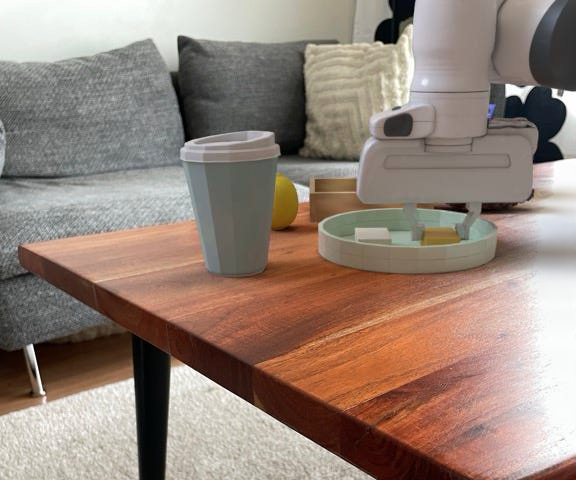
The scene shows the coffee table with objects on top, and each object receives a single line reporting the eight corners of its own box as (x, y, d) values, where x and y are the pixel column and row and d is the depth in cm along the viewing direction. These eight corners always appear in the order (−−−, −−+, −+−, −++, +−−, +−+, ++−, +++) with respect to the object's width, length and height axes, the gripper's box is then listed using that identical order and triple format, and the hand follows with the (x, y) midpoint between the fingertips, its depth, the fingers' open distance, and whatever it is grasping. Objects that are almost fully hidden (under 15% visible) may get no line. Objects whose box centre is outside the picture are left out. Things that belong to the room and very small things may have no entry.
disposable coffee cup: (216, 293, 75) (207, 141, 68) (172, 270, 83) (160, 133, 77) (301, 276, 80) (299, 134, 74) (251, 256, 88) (246, 127, 82)
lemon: (307, 232, 99) (306, 172, 96) (278, 239, 96) (276, 177, 93) (279, 226, 103) (278, 168, 100) (250, 233, 100) (248, 173, 96)
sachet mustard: (450, 242, 90) (452, 227, 89) (459, 255, 85) (461, 238, 84) (418, 243, 90) (419, 227, 90) (425, 255, 85) (426, 238, 84)
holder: (420, 206, 115) (421, 176, 113) (432, 224, 102) (435, 191, 101) (309, 207, 115) (309, 177, 114) (309, 225, 103) (309, 193, 101)
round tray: (474, 233, 97) (477, 207, 96) (514, 278, 78) (518, 246, 76) (317, 234, 98) (317, 208, 97) (318, 279, 79) (318, 248, 77)
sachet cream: (386, 243, 90) (387, 227, 90) (391, 255, 85) (391, 238, 84) (354, 243, 91) (355, 227, 90) (357, 255, 85) (357, 239, 84)
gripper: (532, 114, 84) (518, 233, 90) (356, 117, 85) (354, 234, 90) (548, 119, 78) (532, 245, 84) (359, 122, 79) (356, 246, 85)
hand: (438, 239), depth 87 cm, fingers closed on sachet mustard, 4 cm apart
